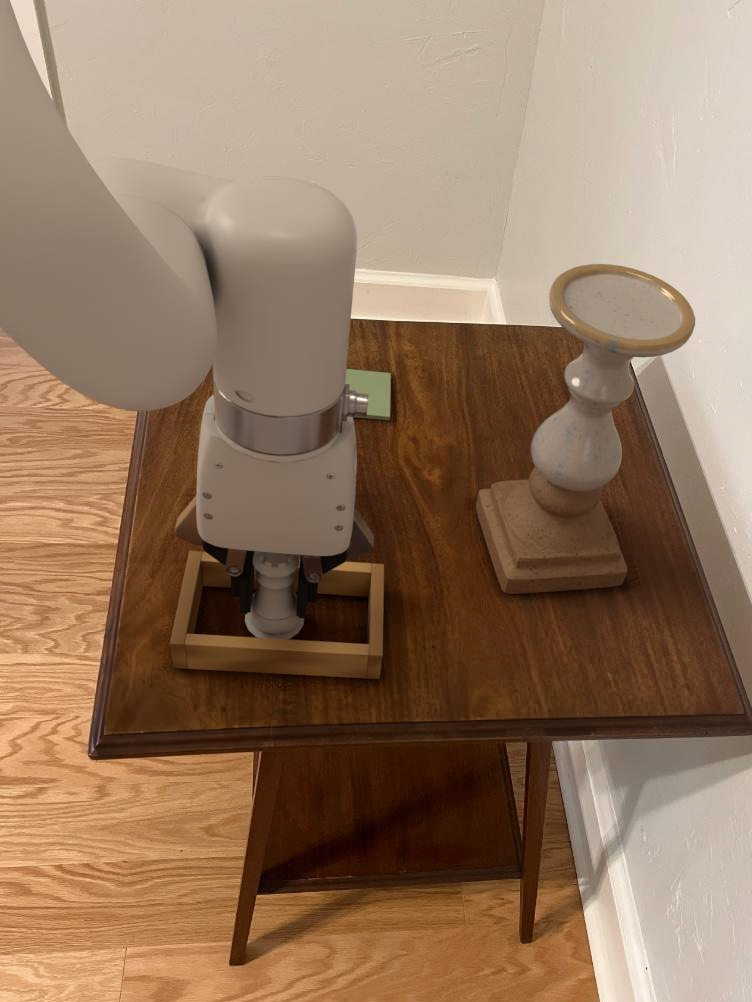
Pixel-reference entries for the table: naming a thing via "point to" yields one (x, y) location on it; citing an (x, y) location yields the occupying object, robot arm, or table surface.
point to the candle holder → (581, 435)
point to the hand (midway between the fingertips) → (274, 600)
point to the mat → (372, 391)
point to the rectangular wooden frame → (279, 652)
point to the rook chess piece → (274, 597)
